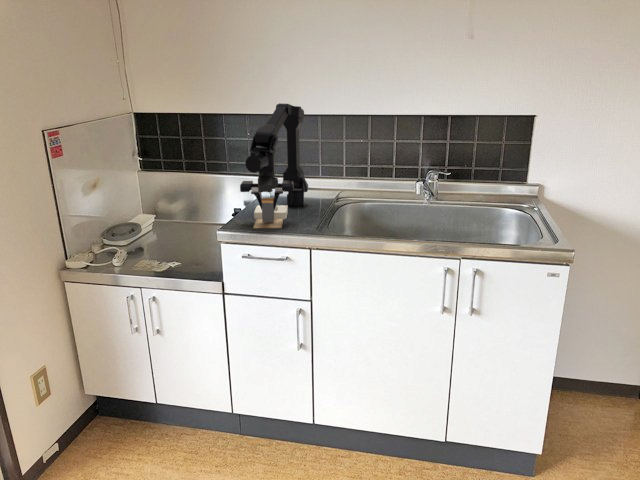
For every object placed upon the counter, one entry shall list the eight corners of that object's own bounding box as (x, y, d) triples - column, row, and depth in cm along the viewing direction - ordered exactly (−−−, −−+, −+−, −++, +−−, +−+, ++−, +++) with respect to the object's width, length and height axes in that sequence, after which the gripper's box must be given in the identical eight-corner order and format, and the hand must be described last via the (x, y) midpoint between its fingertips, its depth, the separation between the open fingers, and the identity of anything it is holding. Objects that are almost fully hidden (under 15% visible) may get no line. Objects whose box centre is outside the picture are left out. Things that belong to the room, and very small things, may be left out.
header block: (287, 211, 211) (287, 203, 210) (286, 218, 202) (286, 210, 200) (257, 211, 211) (256, 203, 210) (254, 219, 202) (253, 210, 201)
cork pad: (283, 219, 201) (283, 218, 201) (281, 228, 191) (281, 227, 191) (256, 219, 201) (256, 218, 201) (253, 228, 191) (253, 227, 191)
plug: (274, 218, 198) (274, 197, 195) (273, 222, 194) (273, 200, 191) (263, 218, 197) (262, 197, 195) (262, 222, 194) (261, 200, 191)
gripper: (236, 171, 181) (239, 216, 187) (291, 171, 181) (292, 215, 187) (241, 165, 192) (243, 207, 197) (293, 164, 192) (294, 206, 197)
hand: (268, 209), depth 194 cm, fingers closed on plug, 4 cm apart
